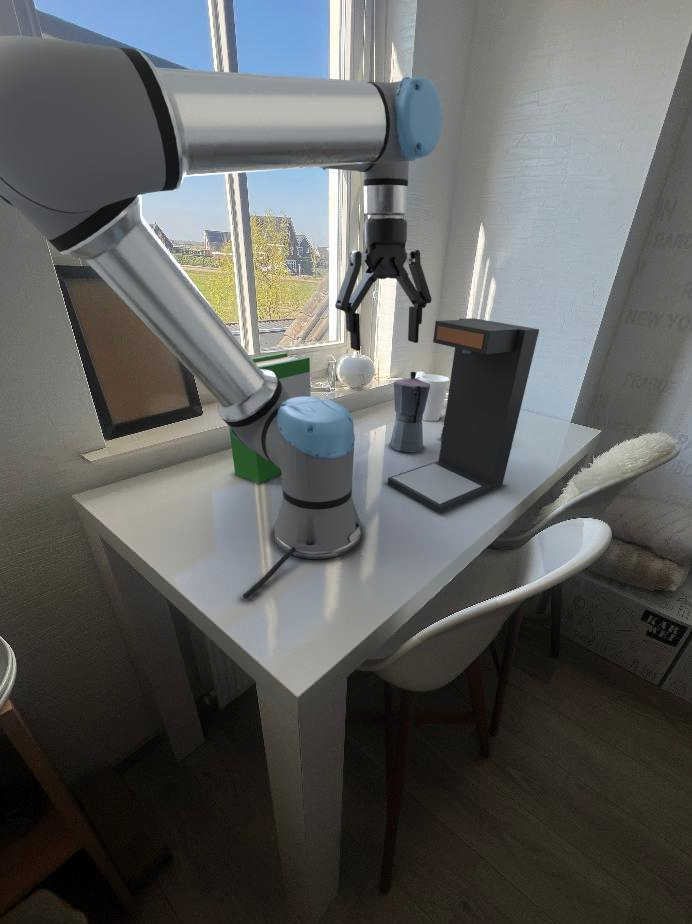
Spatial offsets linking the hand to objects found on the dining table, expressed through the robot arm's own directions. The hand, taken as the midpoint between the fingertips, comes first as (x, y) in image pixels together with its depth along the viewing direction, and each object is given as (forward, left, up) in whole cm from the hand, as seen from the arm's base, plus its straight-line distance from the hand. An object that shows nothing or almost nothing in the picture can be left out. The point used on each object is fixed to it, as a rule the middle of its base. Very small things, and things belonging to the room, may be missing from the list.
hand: (385, 345), depth 85 cm
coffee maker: (+9, -14, -29) cm, 33 cm away
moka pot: (+17, +7, -29) cm, 34 cm away
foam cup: (+42, +22, -29) cm, 56 cm away
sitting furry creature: (+49, +34, -29) cm, 66 cm away
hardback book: (-18, +16, -29) cm, 38 cm away
